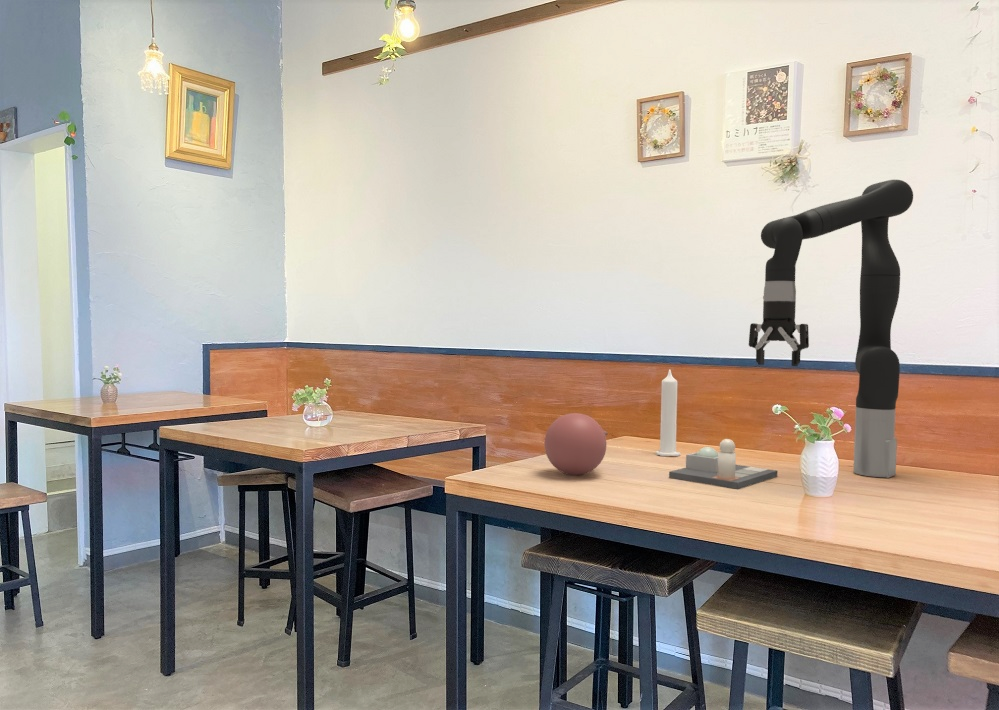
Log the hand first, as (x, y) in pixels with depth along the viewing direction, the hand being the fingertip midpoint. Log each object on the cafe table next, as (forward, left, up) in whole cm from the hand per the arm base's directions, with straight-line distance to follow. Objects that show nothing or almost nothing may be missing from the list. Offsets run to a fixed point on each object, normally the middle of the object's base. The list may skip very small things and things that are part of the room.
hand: (777, 365), depth 189 cm
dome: (+13, +9, -27) cm, 31 cm away
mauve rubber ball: (+36, +32, -28) cm, 56 cm away
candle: (+36, -10, -28) cm, 47 cm away
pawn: (+4, +17, -26) cm, 32 cm away
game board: (+9, +9, -28) cm, 31 cm away
